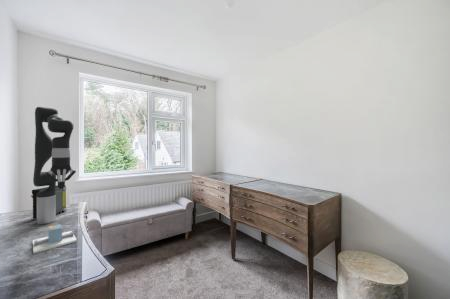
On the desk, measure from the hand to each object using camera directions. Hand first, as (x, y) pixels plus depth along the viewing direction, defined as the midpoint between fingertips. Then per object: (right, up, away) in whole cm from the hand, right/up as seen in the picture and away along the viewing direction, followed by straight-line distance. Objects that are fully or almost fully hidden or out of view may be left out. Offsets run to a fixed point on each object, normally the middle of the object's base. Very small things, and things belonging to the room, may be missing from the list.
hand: (61, 188), depth 104 cm
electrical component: (-40, -27, +37) cm, 61 cm away
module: (0, -26, -4) cm, 26 cm away
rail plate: (0, -27, -4) cm, 27 cm away
